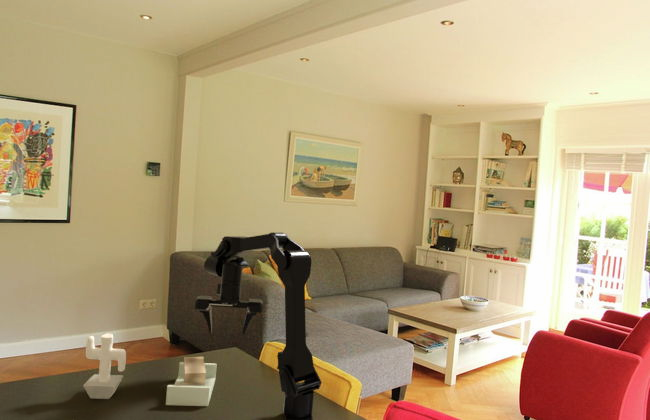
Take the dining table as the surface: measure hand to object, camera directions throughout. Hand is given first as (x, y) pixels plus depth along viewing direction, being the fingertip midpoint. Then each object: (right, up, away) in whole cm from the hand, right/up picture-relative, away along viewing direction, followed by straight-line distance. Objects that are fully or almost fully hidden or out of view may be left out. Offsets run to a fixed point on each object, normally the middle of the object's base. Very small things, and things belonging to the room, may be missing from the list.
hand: (227, 333), depth 136 cm
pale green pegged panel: (-6, -12, -13) cm, 18 cm away
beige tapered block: (-6, -8, -13) cm, 16 cm away
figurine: (-27, -10, -19) cm, 34 cm away
